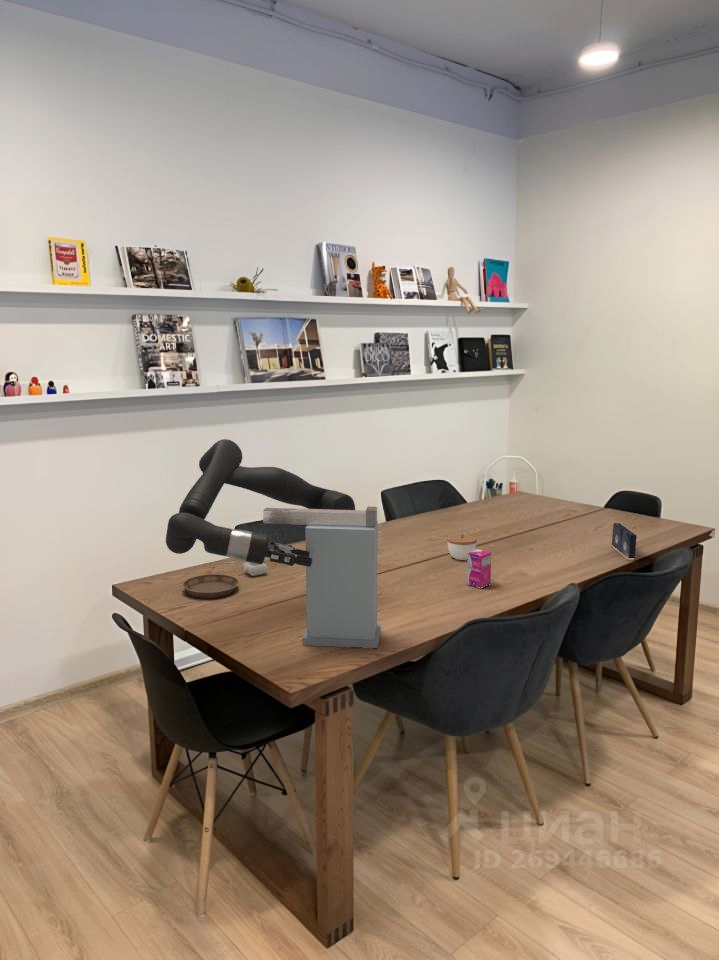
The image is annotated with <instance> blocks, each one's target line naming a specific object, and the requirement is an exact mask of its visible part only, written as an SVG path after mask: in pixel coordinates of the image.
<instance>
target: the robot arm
mask: <svg viewBox="0 0 719 960" xmlns="http://www.w3.org/2000/svg"><path fill="white" fill-rule="evenodd" d="M242 462H243V453H242V449H241V447H240V446H239V445H238V444H237V443H236V442H234V441H233V440H231V439H225V438H223V439H220V440H218V441H216V442H214V443H213V445H211V446H210V448H209V449H208V450H207V451H206V452H205V453H204V454H203V455H202V456H201V457H200V459H199V461H198V467H199V470H200V471H201V473H202V474H201V475H200V477H198V479H197V480H196V481H195V483H194V484H193V486H192V487H191V488H190V490H188V493H187V494H186V496H185V497H184V499H183V501H182V503H181V504H180V507H179V511H178V512H177V513H175V514H173V515H171V516H170V518H169V519H168V523H167V529H166V534H165V544H166V547H167V548H168V550H169V551H171V552H172V553H174V554H176V555H177V554H178V555H180V554H185V553H187V552H189V551H190V550H191V549H192V548H193V547H194V546H195V543H196V541H197V540H198V541H199V542H202V544H203V548H204V551H205V552H206V553H209V554H212V555H217V556H222V557H227V558H229V559H233V560H237V561H242V562H245V563H247V562H251V563H256V564H263V563H265V562H264V561H265V559H266V558H269V562H271V563H277V564H282V565H286V566H290V567H293V566H296V565H297V566H298V565H299V566H303V567H306V566H308V567H310V566H311V564H312V558H310V557H309V554H310V553H309V551H306V549H305V550H304V549H300V548H299V549H298V548H296V547H295V546H293V545H292V544H284V543H279V542H274V541H270V543H269V536H268V535H267V534H263V533H259V532H255V531H249V530H245V529H236V528H235V529H234V528H229V527H224V526H221V525H217V524H214V523H212V522H210V521H208V520H206V518H207V517H208V514H209V512H210V511H211V509H212V506H213V505H214V503H215V500H216V499H217V497H218V495H219V494H220V491H221V490H222V488H223V487H224V485H229V486H234V487H238V488H242V489H243V490H244V489H245V490H248V491H251V492H253V493H256V494H260V495H262V496H265V497H268V498H270V499H272V500H275V501H278V502H281V503H284V504H288V505H293V506H300V507H302V508H303V507H304V509H328V510H356V504H355V501H354V499H353V497H351V495H349V494H347V493H343V492H340V491H337V490H331V489H328V488H323V487H321V486H317V485H314V484H312V483H309V482H308V481H306V480H305V479H303V478H301V477H300V476H298V475H297V474H294V473H293V472H290V471H288V470H285V469H283V468H280V467H276V466H258V467H257V466H255V467H247V466H241V463H242Z"/></svg>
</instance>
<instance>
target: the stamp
mask: <svg viewBox="0 0 719 960" xmlns="http://www.w3.org/2000/svg"><path fill="white" fill-rule="evenodd" d="M242 568H243V570H242V571H243V572H244V573H246V574H248V575H250V576H252V577H255V576H262V575H264V574H265V572H267V570H268V569H269V567H268V565H267V563H265V562H263V564H256V563H251V562H243V564H242Z"/></svg>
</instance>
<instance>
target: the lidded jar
mask: <svg viewBox="0 0 719 960" xmlns="http://www.w3.org/2000/svg"><path fill="white" fill-rule="evenodd" d="M446 539H447V540H446V541H447V549H448V553H449V554H450V555H451V557H452V558H456V559H468V552H471V551H474V550H476V549H477V548H476V547H477V542H478V541H477V537H475V536H473V535H468V534H464V533H460V534H452V535H449V536H448V537H447V538H446Z"/></svg>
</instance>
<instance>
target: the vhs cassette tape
mask: <svg viewBox="0 0 719 960" xmlns="http://www.w3.org/2000/svg"><path fill="white" fill-rule="evenodd" d="M612 525H613V526H612V527H613V528H612V537H611V546H612V545H613V546H614V547H615V548H617V549H618V550H619V551H620V552H622V553H623V554H624V555H625V556H627V557H628V558H636V549H637V548H636V547H637V537H638V536H637V534H635V533H634V532H633V531H631V530H630V529H628V528H627V527H625V525H622V523H620V522H614V523H613V524H612Z"/></svg>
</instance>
